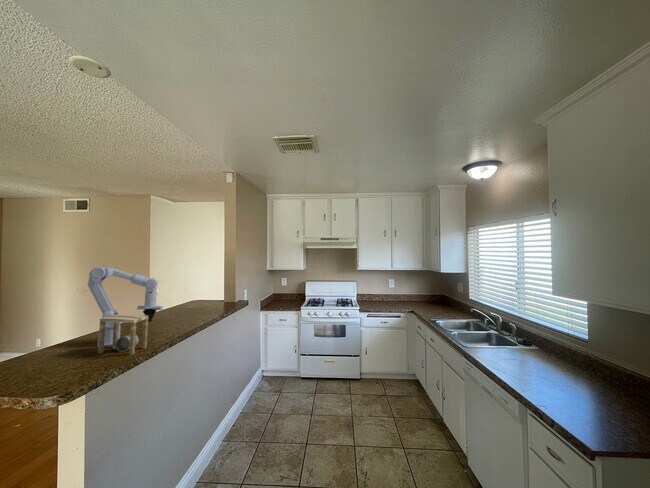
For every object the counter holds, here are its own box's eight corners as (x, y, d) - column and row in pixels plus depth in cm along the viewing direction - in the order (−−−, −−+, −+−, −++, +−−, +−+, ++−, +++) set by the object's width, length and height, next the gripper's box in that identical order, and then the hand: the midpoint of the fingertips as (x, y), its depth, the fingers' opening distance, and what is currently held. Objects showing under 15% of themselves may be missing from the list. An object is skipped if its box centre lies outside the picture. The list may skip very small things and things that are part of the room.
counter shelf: (132, 354, 128) (134, 319, 129) (97, 353, 129) (100, 318, 130) (146, 347, 138) (148, 315, 139) (114, 346, 139) (116, 314, 140)
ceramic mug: (139, 346, 140) (140, 332, 141) (129, 351, 132) (130, 336, 133) (119, 346, 139) (120, 332, 140) (107, 352, 131) (108, 337, 132)
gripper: (133, 299, 149) (132, 323, 148) (157, 300, 149) (156, 324, 148) (142, 297, 156) (141, 320, 156) (165, 298, 156) (164, 320, 155)
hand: (149, 321), depth 152 cm, fingers closed
